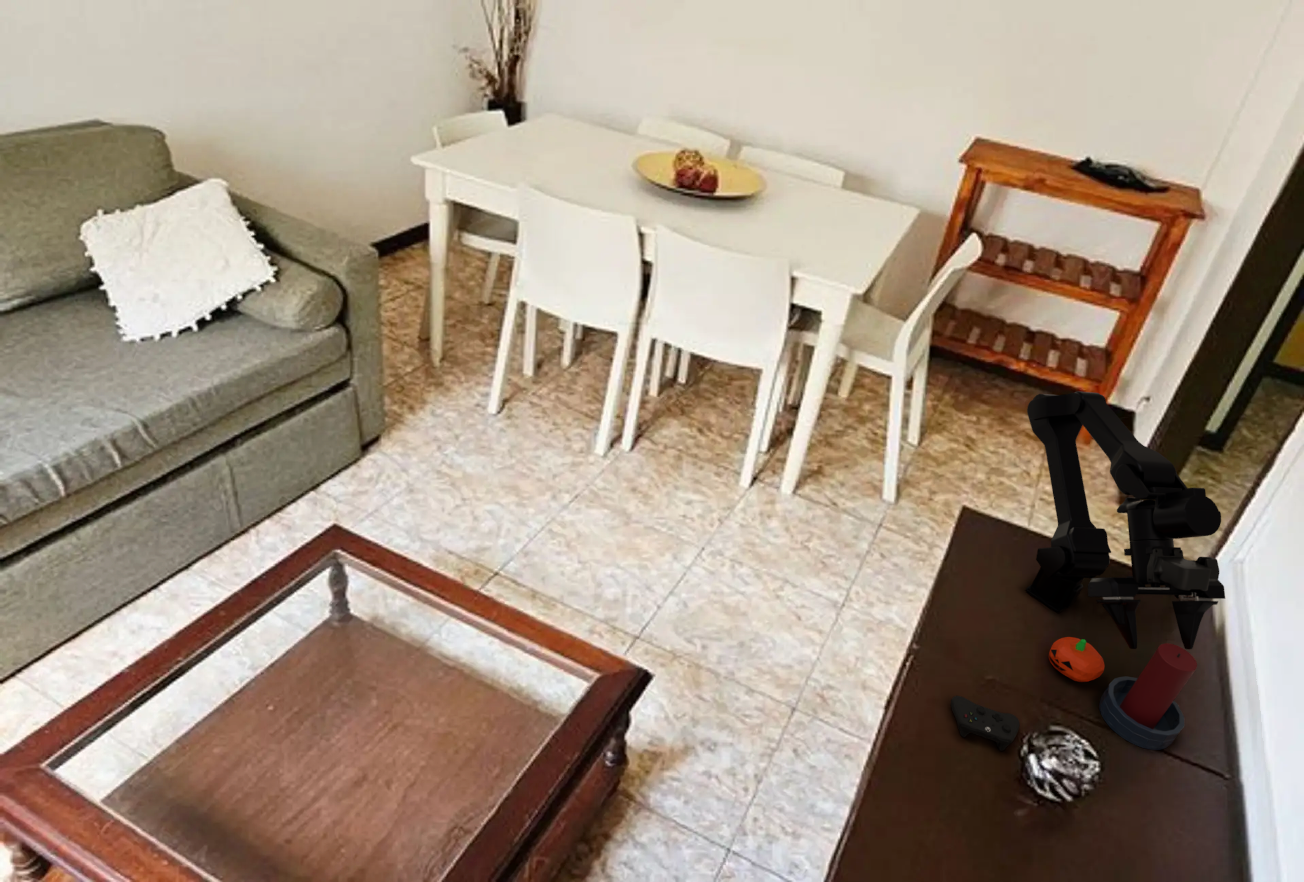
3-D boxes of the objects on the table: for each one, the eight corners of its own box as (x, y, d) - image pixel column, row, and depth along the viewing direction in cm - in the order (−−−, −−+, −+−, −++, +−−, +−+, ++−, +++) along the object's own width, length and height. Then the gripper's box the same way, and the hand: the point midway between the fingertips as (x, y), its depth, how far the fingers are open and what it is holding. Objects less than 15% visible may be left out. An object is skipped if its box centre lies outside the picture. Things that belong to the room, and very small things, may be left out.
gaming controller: (1017, 716, 127) (1029, 719, 121) (1008, 753, 126) (1019, 757, 120) (951, 693, 129) (959, 695, 123) (941, 729, 128) (949, 732, 122)
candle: (1117, 720, 129) (1160, 657, 122) (1119, 697, 133) (1160, 634, 126) (1154, 736, 128) (1200, 674, 120) (1155, 712, 132) (1199, 650, 124)
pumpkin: (1092, 697, 133) (1110, 669, 130) (1039, 671, 136) (1056, 643, 133) (1099, 669, 139) (1116, 641, 135) (1048, 645, 142) (1064, 617, 138)
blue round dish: (1086, 712, 131) (1096, 696, 129) (1117, 681, 137) (1127, 666, 135) (1155, 762, 125) (1166, 747, 123) (1184, 728, 131) (1195, 712, 129)
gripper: (1135, 535, 120) (1145, 651, 117) (1251, 539, 123) (1264, 652, 121) (1081, 541, 131) (1089, 647, 128) (1189, 544, 134) (1200, 648, 131)
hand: (1161, 649), depth 127 cm, fingers open, 9 cm apart
